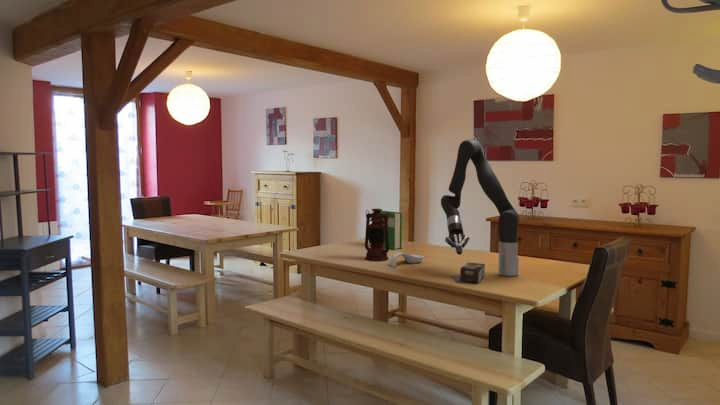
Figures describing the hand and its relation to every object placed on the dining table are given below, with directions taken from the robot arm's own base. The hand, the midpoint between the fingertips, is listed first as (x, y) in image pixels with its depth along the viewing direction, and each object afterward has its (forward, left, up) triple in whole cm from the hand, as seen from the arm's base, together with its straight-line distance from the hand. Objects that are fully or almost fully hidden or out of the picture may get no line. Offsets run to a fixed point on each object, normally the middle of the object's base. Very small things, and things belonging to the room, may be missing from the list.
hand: (459, 253), depth 252 cm
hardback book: (+29, -82, -12) cm, 88 cm away
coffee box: (-9, -2, -8) cm, 12 cm away
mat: (-2, +5, -12) cm, 13 cm away
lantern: (+39, -45, -12) cm, 61 cm away
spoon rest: (+23, -32, -12) cm, 41 cm away
